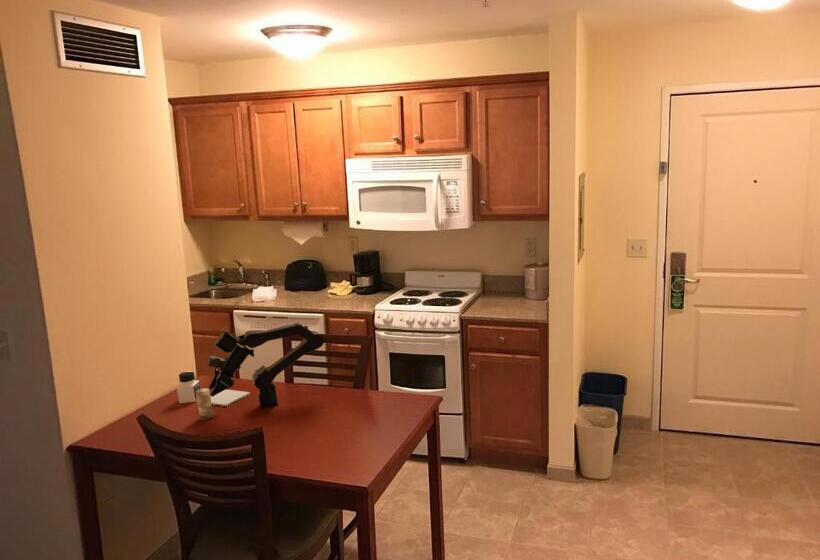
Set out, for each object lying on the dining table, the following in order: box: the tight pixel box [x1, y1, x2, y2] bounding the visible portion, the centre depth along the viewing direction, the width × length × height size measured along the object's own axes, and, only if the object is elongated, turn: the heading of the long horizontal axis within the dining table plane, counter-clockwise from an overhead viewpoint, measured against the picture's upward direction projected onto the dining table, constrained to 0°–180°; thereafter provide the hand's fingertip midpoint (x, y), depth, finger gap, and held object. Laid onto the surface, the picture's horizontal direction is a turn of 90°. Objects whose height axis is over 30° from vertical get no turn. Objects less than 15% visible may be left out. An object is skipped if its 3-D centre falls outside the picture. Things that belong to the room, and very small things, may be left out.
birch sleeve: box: [196, 387, 215, 421], centre depth 255 cm, size 5×5×11 cm
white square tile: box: [210, 389, 251, 407], centre depth 275 cm, size 14×14×1 cm
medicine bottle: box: [176, 370, 201, 404], centre depth 278 cm, size 7×7×12 cm
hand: (210, 392), depth 255 cm, fingers open, 9 cm apart
